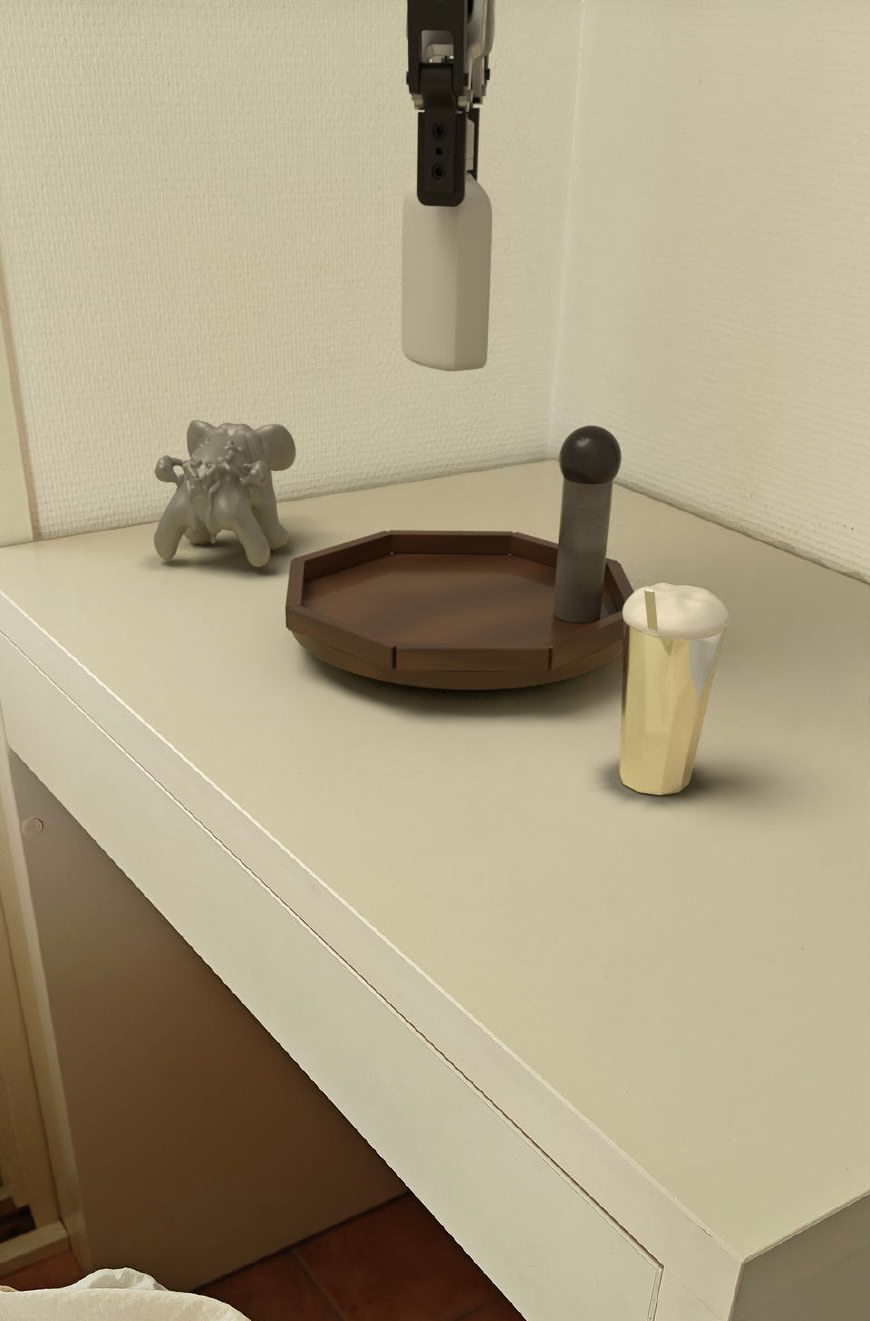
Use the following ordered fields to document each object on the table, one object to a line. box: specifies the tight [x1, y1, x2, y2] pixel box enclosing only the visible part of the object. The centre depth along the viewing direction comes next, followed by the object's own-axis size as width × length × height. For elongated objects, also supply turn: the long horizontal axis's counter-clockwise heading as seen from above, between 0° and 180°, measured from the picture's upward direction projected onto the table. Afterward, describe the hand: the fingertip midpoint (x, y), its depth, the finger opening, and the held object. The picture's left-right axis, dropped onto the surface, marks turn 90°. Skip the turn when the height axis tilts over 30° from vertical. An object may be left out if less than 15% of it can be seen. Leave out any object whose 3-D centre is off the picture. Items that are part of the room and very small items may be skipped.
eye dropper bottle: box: [401, 111, 493, 372], centre depth 67 cm, size 4×6×12 cm
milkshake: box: [618, 582, 729, 796], centre depth 61 cm, size 4×5×10 cm
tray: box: [284, 425, 635, 690], centre depth 73 cm, size 19×19×11 cm
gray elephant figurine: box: [153, 419, 297, 568], centre depth 89 cm, size 9×12×8 cm
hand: (448, 197), depth 66 cm, fingers closed on eye dropper bottle, 5 cm apart
